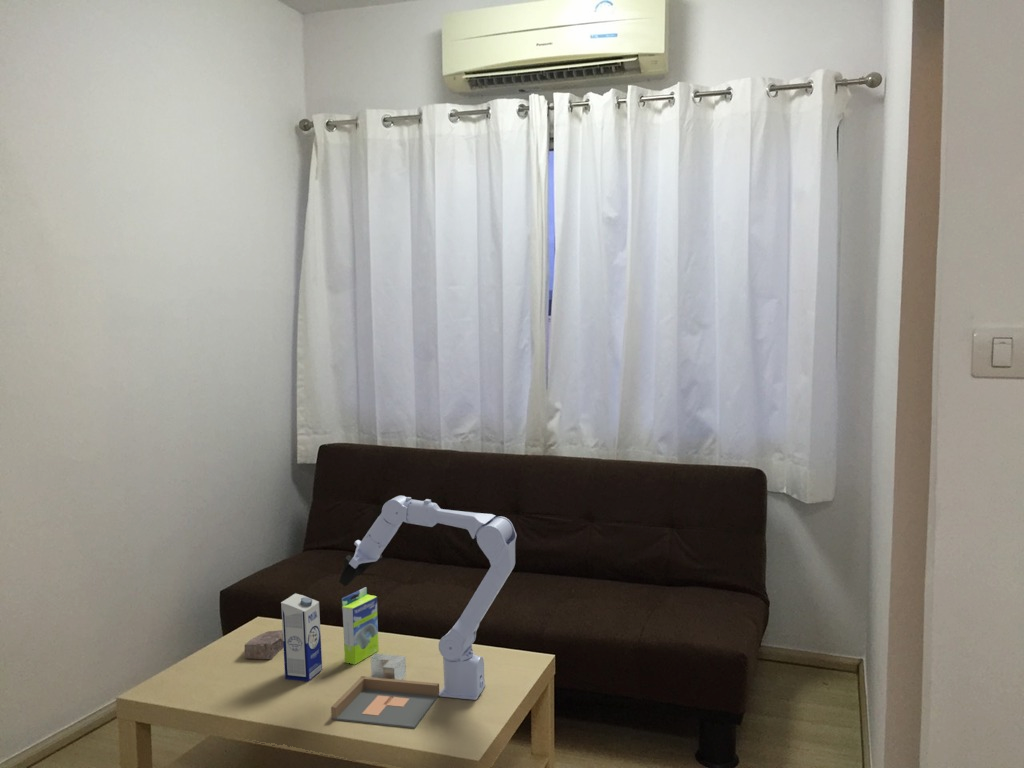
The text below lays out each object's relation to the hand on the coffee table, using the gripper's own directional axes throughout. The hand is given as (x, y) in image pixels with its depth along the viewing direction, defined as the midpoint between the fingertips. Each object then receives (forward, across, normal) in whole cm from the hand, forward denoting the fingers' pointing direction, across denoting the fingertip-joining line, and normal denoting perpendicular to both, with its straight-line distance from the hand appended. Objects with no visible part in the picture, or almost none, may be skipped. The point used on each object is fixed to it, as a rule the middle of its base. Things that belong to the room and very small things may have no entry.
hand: (349, 578), depth 202 cm
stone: (+40, -10, -9) cm, 43 cm away
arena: (+12, +13, +27) cm, 32 cm away
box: (+23, -12, +13) cm, 29 cm away
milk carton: (+29, +1, +5) cm, 30 cm away
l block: (+16, 0, +22) cm, 27 cm away
